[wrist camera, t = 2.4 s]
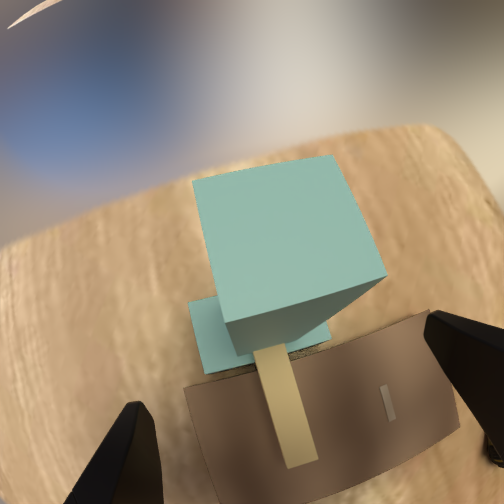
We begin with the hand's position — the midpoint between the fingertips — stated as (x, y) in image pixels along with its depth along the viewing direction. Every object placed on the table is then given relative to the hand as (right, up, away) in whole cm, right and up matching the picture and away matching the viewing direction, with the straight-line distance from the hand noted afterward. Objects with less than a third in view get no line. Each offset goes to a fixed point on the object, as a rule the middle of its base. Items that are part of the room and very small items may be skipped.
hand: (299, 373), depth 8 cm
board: (+4, -7, +9) cm, 12 cm away
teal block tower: (0, -4, +10) cm, 11 cm away
